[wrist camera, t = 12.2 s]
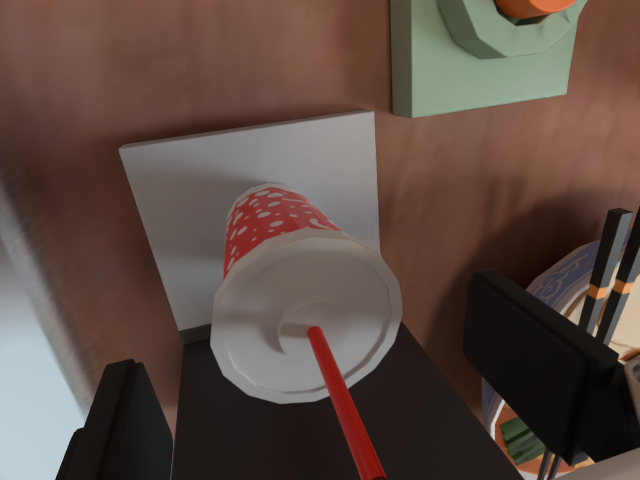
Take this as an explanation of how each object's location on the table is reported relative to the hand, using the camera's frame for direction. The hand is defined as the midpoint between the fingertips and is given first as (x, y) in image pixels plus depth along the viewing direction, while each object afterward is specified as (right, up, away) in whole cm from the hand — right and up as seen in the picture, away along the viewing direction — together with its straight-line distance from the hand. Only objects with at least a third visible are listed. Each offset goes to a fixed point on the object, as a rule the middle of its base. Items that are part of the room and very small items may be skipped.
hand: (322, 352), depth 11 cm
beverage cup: (-3, +4, +9) cm, 10 cm away
